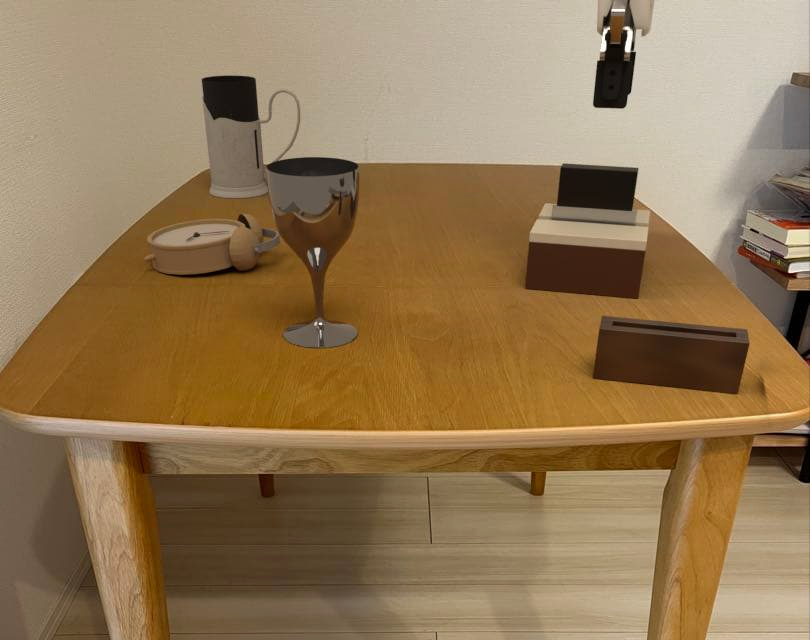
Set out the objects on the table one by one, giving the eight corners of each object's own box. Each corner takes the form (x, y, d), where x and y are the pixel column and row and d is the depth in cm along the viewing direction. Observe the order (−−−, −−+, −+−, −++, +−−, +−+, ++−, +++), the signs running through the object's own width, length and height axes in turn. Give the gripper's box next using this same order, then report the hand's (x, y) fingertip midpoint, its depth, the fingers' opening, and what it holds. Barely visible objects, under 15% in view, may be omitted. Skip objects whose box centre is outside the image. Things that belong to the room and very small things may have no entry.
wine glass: (275, 349, 81) (261, 176, 72) (282, 319, 87) (270, 156, 79) (361, 349, 81) (358, 176, 72) (362, 318, 87) (359, 157, 79)
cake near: (639, 282, 97) (648, 227, 94) (637, 298, 93) (647, 241, 90) (532, 273, 100) (536, 218, 96) (524, 288, 95) (529, 232, 92)
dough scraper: (627, 276, 99) (643, 167, 93) (626, 281, 98) (642, 171, 91) (547, 269, 101) (557, 162, 95) (545, 274, 99) (555, 166, 93)
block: (735, 379, 76) (747, 328, 73) (737, 394, 73) (749, 342, 71) (595, 364, 78) (602, 315, 76) (592, 378, 76) (599, 328, 73)
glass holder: (216, 184, 135) (204, 74, 127) (308, 185, 135) (302, 75, 126) (203, 197, 128) (190, 82, 120) (300, 199, 128) (293, 84, 119)
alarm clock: (153, 224, 105) (276, 199, 104) (166, 264, 108) (286, 241, 107) (135, 251, 96) (270, 225, 95) (150, 295, 98) (281, 269, 98)
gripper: (678, -116, 72) (648, 114, 81) (679, -105, 86) (652, 91, 95) (586, -114, 73) (566, 112, 83) (600, -103, 87) (582, 89, 97)
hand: (612, 100), depth 89 cm, fingers open, 9 cm apart
